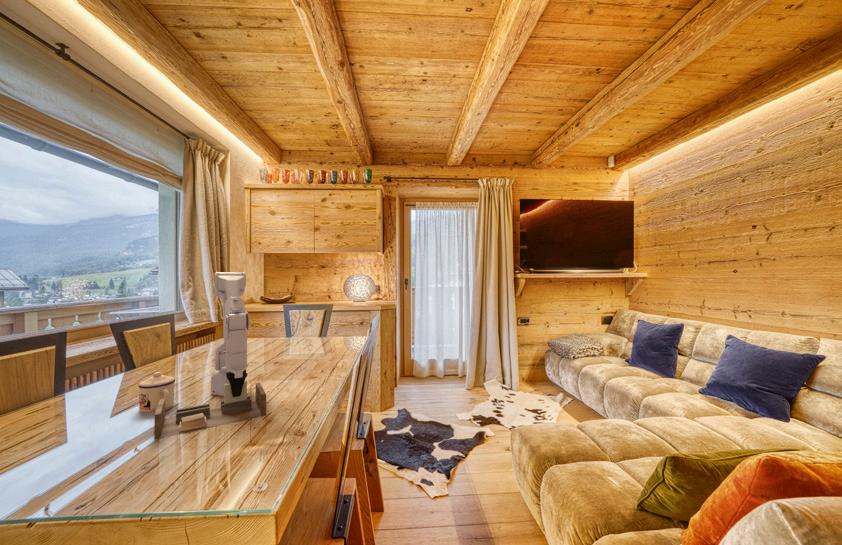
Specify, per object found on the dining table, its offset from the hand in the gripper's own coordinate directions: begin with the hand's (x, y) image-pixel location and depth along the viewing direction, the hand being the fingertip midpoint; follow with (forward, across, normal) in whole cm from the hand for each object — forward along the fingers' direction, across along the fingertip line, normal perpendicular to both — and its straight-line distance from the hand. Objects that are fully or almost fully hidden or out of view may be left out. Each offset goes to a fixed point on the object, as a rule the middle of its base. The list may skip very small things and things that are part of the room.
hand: (236, 395), depth 102 cm
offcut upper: (+3, +7, -11) cm, 13 cm away
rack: (+5, +3, -6) cm, 9 cm away
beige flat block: (+4, 0, 0) cm, 4 cm away
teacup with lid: (+5, -15, -20) cm, 26 cm away
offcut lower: (+4, +7, -11) cm, 14 cm away
